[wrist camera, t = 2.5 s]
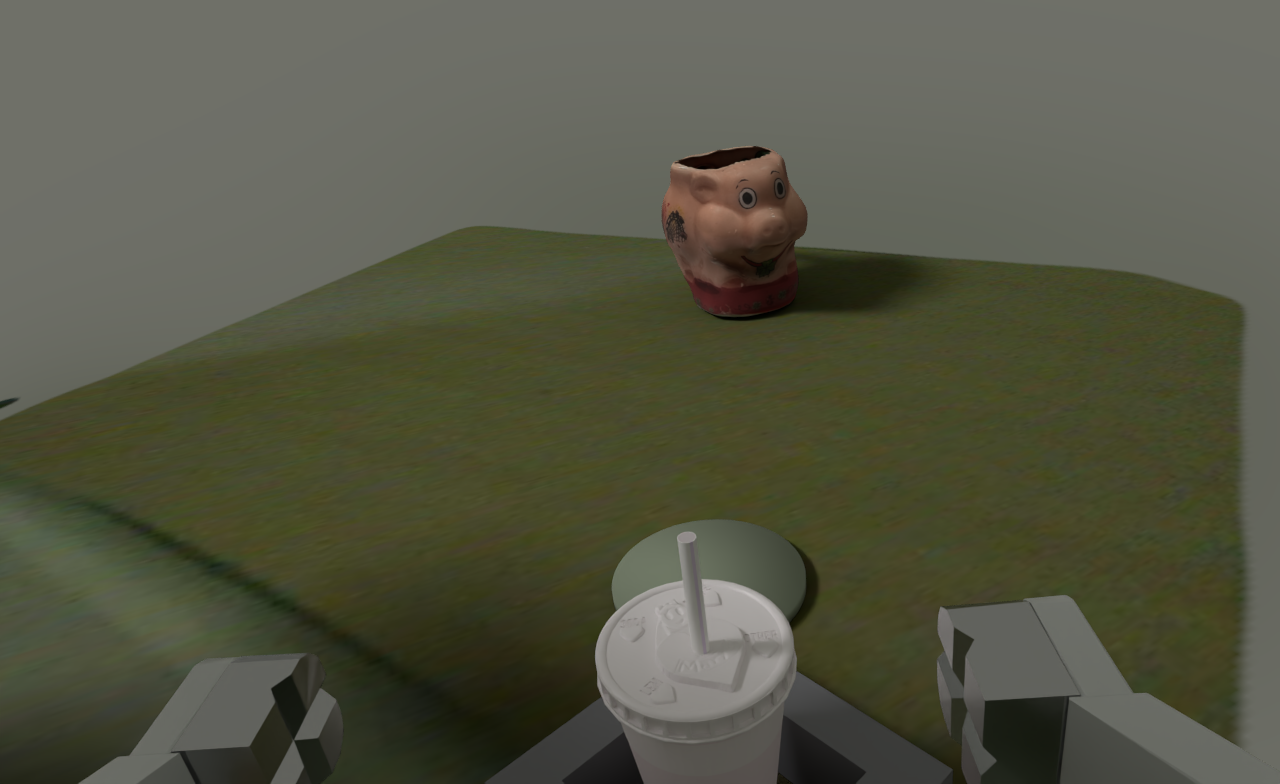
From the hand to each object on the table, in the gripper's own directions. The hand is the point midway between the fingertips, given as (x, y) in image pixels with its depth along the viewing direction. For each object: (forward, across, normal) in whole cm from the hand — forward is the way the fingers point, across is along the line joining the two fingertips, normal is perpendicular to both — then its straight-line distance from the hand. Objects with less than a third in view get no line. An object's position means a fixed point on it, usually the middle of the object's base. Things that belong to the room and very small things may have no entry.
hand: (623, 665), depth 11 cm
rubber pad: (+27, 0, +20) cm, 34 cm away
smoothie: (+12, 0, +21) cm, 24 cm away
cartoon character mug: (+70, -3, +20) cm, 73 cm away
